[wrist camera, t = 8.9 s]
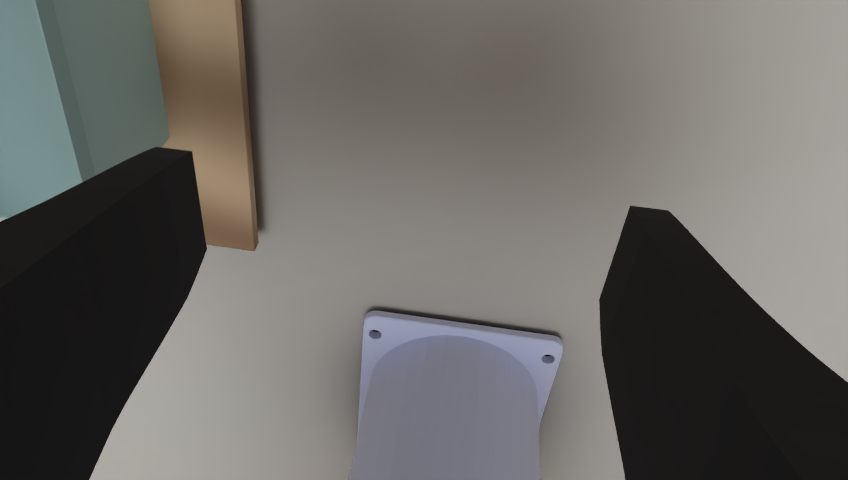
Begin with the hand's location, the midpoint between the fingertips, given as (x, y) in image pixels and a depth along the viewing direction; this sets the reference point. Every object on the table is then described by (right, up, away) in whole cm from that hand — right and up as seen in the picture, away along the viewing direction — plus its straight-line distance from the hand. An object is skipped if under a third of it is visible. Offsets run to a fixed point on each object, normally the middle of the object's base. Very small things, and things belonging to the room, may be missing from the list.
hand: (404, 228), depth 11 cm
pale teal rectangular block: (-10, +6, +9) cm, 14 cm away
